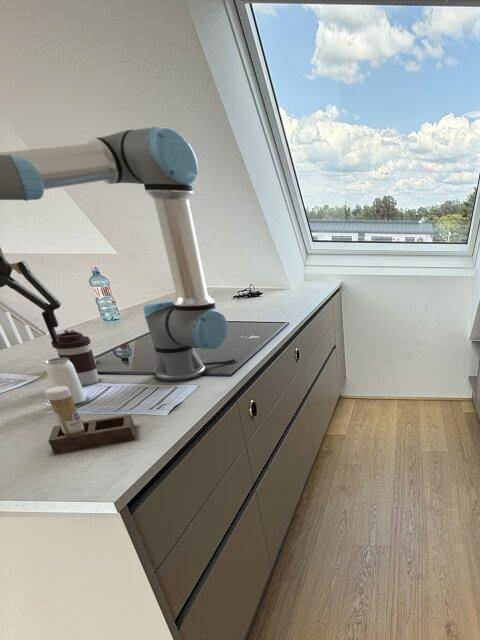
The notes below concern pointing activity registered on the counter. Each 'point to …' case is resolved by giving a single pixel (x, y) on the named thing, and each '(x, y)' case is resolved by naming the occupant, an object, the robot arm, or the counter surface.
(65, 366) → the can
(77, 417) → the sprinkles bottle
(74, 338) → the coffee cup
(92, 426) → the holder
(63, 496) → the counter surface
